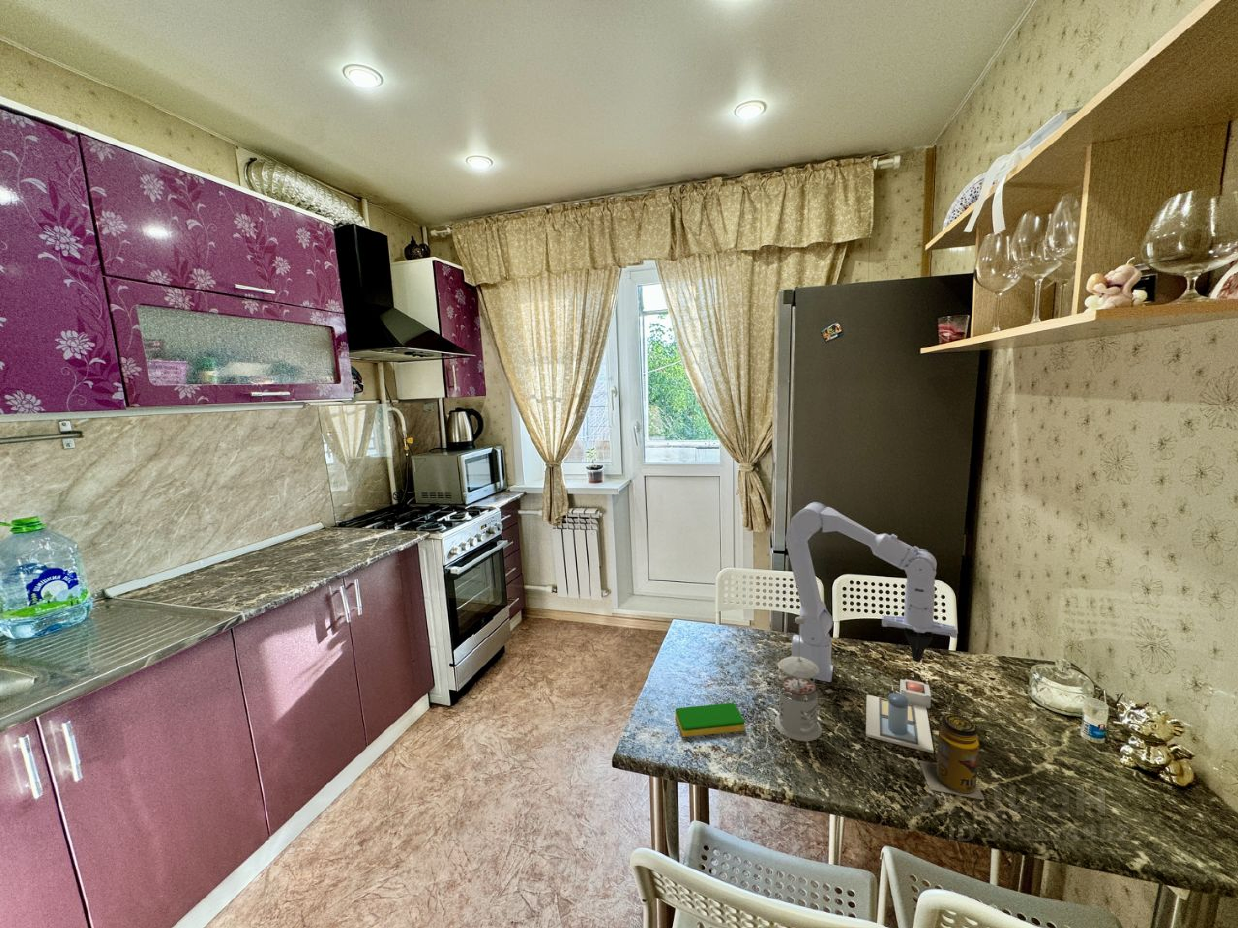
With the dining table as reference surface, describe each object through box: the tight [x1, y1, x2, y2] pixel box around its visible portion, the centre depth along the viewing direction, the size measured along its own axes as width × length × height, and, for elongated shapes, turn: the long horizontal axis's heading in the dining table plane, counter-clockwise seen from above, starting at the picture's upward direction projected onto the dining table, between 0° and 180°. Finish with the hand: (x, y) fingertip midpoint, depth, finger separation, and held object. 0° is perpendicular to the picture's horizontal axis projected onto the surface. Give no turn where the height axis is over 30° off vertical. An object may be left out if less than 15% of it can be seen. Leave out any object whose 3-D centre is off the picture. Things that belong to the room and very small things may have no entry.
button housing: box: [899, 678, 932, 709], centre depth 114 cm, size 6×6×3 cm
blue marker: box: [887, 692, 908, 735], centre depth 102 cm, size 4×4×7 cm
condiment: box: [918, 713, 985, 800], centre depth 89 cm, size 7×8×12 cm
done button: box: [908, 682, 923, 693], centre depth 114 cm, size 3×3×3 cm
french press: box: [774, 616, 823, 742], centre depth 105 cm, size 10×12×25 cm
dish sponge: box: [675, 702, 746, 738], centre depth 108 cm, size 7×14×2 cm, turn 96°
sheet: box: [865, 694, 935, 754], centre depth 106 cm, size 12×15×1 cm
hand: (916, 659), depth 113 cm, fingers closed
